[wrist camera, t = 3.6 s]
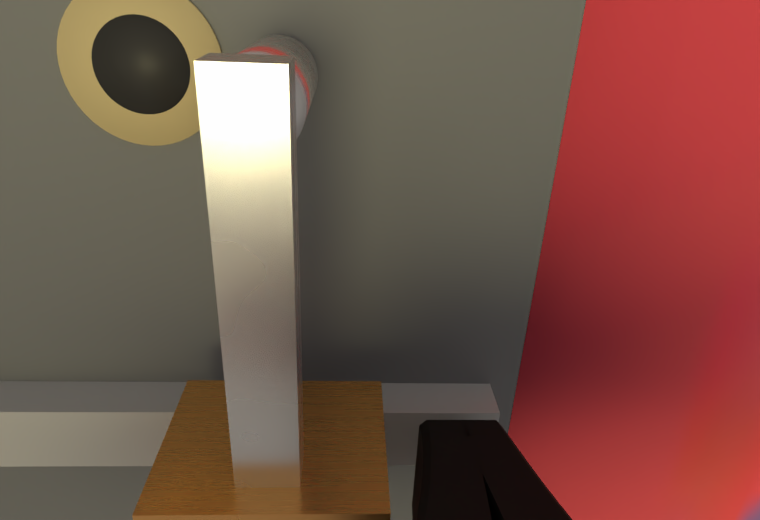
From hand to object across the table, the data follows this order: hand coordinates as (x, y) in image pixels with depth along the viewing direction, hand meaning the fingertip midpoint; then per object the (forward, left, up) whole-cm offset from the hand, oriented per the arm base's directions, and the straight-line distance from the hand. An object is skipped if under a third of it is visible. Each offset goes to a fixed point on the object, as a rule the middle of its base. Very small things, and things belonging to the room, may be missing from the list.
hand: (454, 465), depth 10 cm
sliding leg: (-3, +3, -1) cm, 4 cm away
